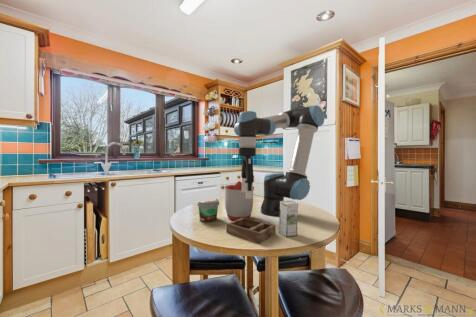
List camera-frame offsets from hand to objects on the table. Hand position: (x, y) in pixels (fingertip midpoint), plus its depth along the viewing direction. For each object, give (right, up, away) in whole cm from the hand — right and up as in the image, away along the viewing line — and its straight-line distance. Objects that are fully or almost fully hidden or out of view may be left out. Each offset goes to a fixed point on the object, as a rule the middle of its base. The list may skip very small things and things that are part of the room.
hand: (246, 195), depth 97 cm
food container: (-18, -16, +16) cm, 29 cm away
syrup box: (+18, -17, -1) cm, 25 cm away
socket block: (+2, -17, -1) cm, 17 cm away
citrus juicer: (-3, -16, +22) cm, 27 cm away
